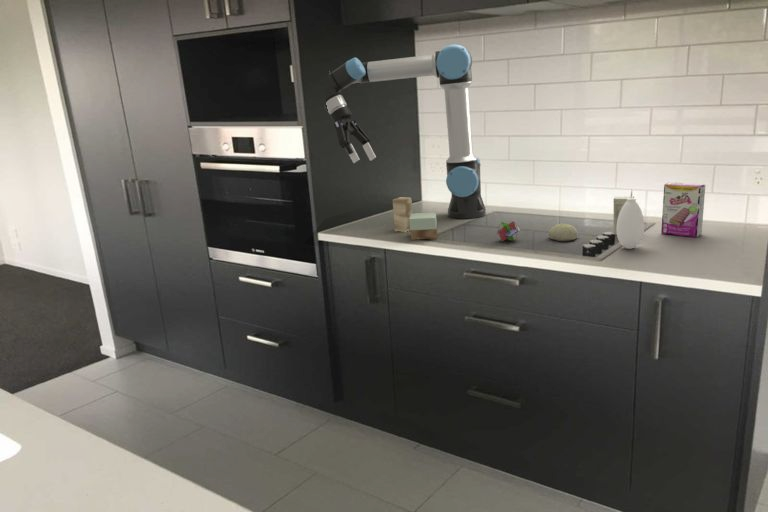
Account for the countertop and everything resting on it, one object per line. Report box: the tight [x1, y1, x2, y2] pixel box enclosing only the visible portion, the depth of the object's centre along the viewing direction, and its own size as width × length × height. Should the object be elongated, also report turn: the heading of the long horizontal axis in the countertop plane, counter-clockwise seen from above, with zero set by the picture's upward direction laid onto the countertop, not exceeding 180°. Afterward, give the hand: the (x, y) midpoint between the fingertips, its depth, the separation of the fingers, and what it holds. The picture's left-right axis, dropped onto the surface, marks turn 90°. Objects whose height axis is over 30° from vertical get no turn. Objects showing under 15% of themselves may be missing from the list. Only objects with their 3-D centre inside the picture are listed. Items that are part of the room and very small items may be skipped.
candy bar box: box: [660, 181, 706, 238], centre depth 199 cm, size 11×5×16 cm, turn 47°
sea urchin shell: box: [548, 223, 578, 242], centre depth 206 cm, size 9×8×8 cm
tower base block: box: [410, 223, 438, 241], centre depth 221 cm, size 9×9×4 cm
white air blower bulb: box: [616, 189, 645, 250], centre depth 188 cm, size 8×8×18 cm
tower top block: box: [409, 211, 438, 230], centre depth 220 cm, size 9×9×4 cm
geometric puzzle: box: [496, 220, 521, 243], centre depth 207 cm, size 7×7×8 cm
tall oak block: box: [392, 196, 413, 233], centre depth 232 cm, size 5×5×12 cm
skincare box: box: [613, 196, 635, 236], centre depth 206 cm, size 6×4×12 cm
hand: (365, 160), depth 234 cm, fingers open, 13 cm apart
